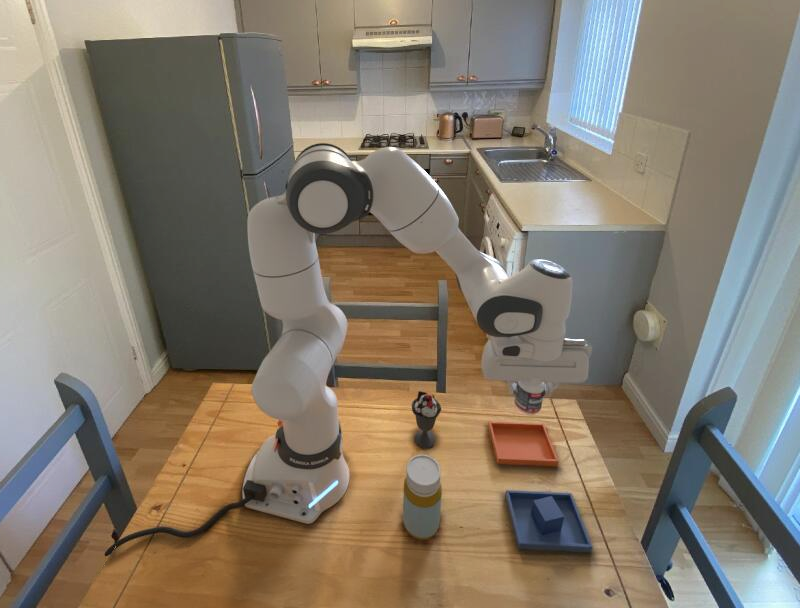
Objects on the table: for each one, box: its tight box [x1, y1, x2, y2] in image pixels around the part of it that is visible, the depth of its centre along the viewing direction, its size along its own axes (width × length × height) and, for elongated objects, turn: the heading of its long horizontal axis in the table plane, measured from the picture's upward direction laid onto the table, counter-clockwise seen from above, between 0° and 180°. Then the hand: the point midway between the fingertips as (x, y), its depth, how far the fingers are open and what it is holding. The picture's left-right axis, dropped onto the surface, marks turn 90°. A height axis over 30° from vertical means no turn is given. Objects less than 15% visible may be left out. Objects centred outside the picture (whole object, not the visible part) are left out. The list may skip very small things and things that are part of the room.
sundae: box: [411, 390, 442, 449], centre depth 96 cm, size 7×7×15 cm
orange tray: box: [487, 421, 560, 467], centre depth 96 cm, size 13×10×2 cm
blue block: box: [531, 496, 564, 535], centre depth 80 cm, size 4×4×4 cm
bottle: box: [402, 453, 443, 541], centre depth 79 cm, size 7×7×15 cm
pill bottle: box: [514, 378, 546, 416], centre depth 86 cm, size 5×5×9 cm
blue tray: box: [504, 489, 593, 554], centre depth 81 cm, size 13×10×2 cm
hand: (529, 393), depth 86 cm, fingers closed on pill bottle, 5 cm apart
